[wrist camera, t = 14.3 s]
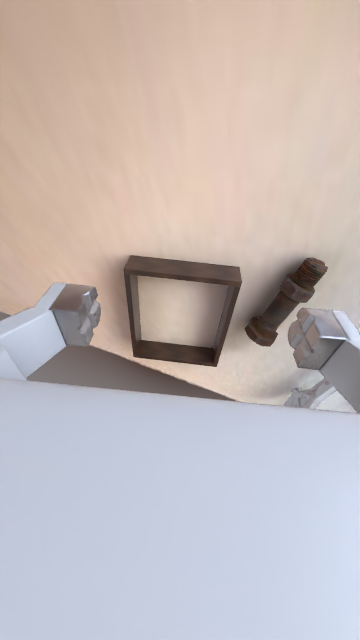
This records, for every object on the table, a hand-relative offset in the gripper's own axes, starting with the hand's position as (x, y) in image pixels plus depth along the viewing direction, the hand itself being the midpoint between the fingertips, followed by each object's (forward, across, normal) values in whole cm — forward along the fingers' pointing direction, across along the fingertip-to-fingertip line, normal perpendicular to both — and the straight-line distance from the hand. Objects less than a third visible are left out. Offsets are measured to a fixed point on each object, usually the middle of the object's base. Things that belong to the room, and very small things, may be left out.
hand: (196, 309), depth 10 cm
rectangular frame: (+24, +1, +22) cm, 33 cm away
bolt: (+24, -16, +16) cm, 33 cm away
